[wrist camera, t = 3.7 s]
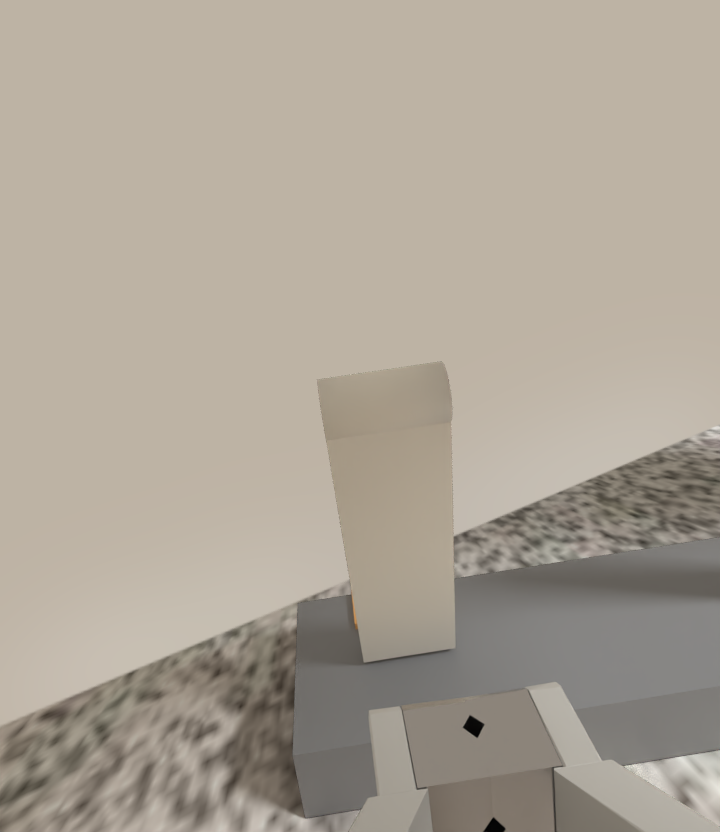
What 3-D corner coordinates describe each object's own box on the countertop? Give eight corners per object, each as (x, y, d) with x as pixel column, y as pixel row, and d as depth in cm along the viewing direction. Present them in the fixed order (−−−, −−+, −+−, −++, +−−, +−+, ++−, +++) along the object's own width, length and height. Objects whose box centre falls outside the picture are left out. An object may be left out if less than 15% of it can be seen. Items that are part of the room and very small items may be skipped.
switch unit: (822, 570, 35) (827, 515, 34) (1011, 701, 26) (1026, 629, 25) (306, 652, 35) (296, 597, 34) (305, 818, 25) (291, 748, 24)
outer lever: (446, 613, 30) (438, 349, 21) (456, 651, 28) (452, 383, 20) (359, 626, 30) (315, 367, 21) (364, 666, 28) (319, 403, 20)
